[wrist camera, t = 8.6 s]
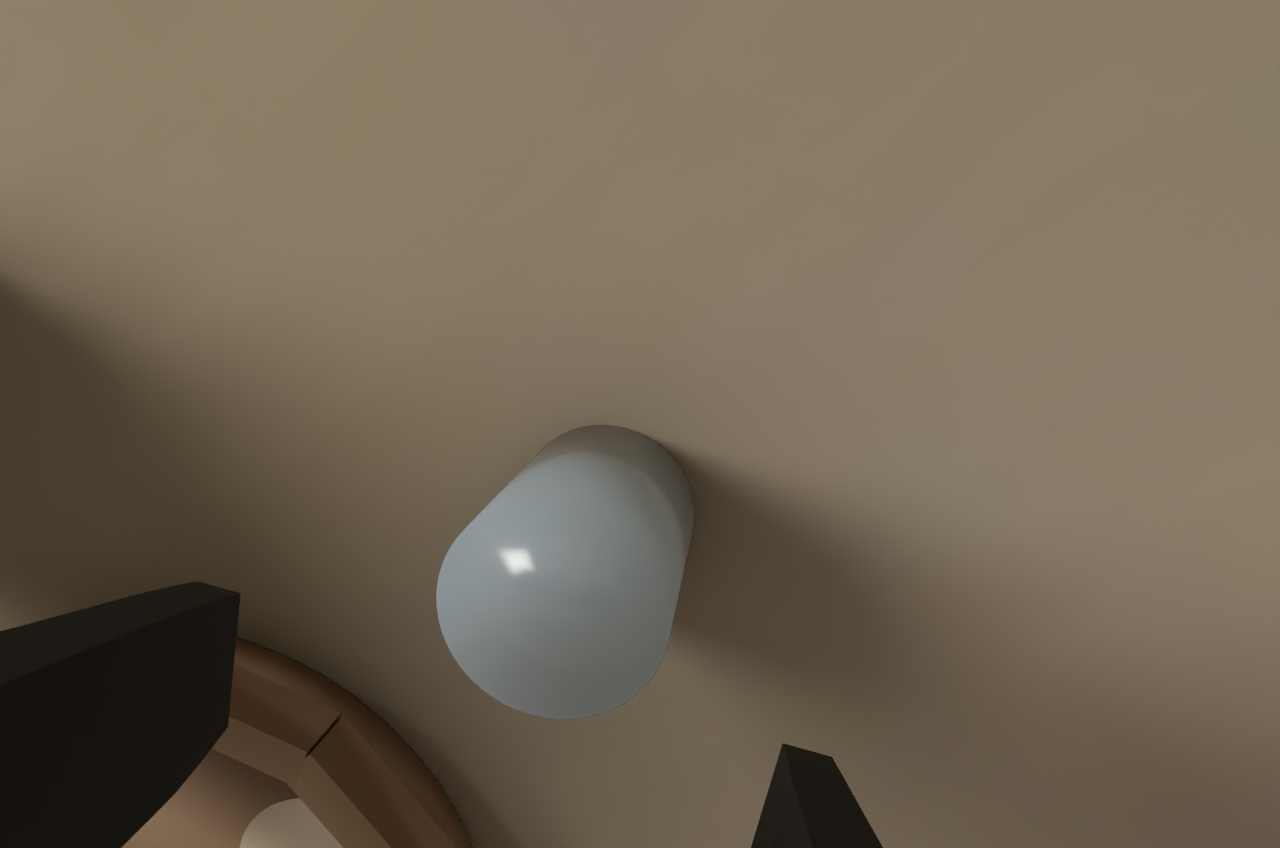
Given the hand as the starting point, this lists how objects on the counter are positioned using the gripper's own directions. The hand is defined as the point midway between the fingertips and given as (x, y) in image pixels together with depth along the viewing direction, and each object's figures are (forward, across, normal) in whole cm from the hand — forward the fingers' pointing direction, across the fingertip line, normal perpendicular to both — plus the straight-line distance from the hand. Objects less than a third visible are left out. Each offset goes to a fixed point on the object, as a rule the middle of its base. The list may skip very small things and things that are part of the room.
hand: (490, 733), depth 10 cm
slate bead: (+8, 0, 0) cm, 8 cm away
